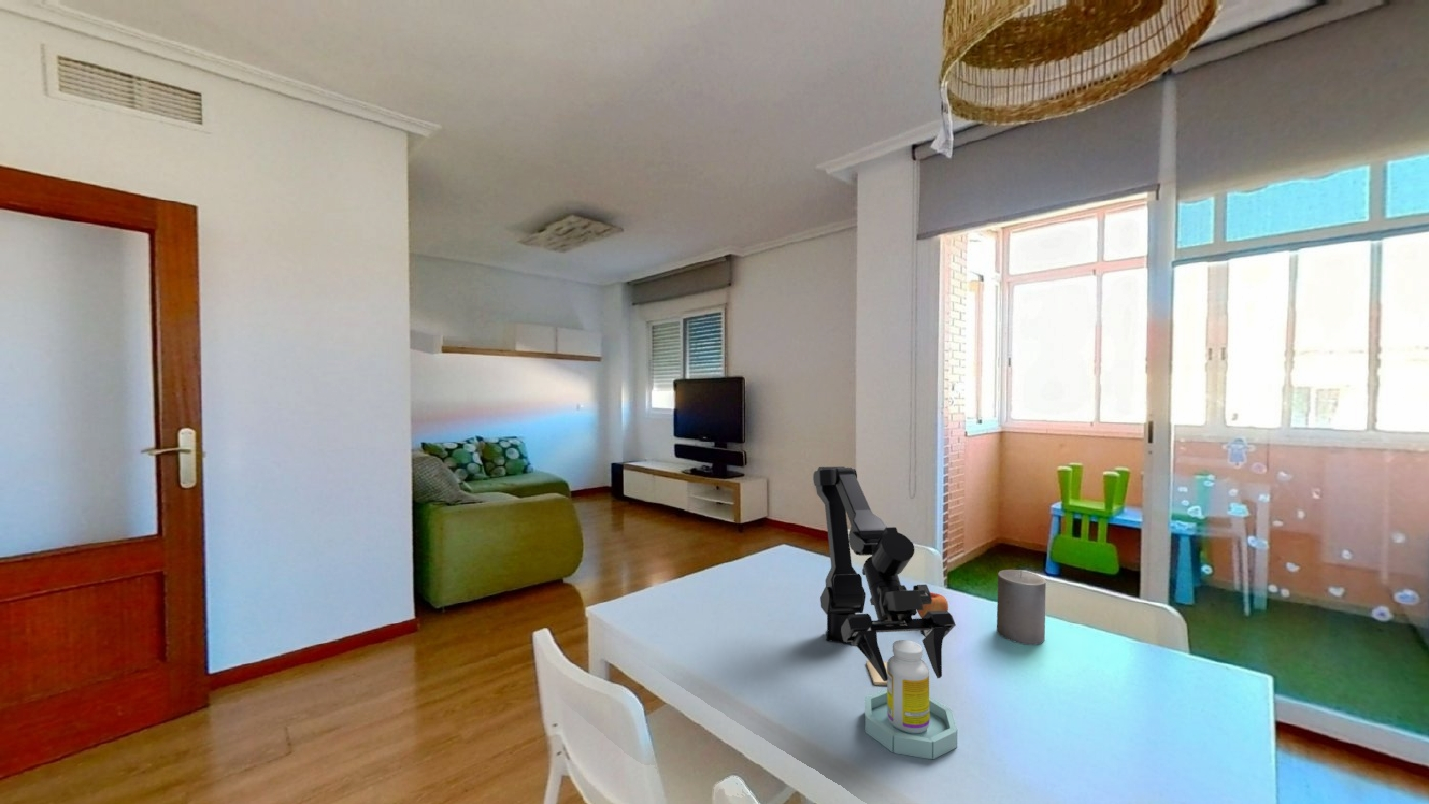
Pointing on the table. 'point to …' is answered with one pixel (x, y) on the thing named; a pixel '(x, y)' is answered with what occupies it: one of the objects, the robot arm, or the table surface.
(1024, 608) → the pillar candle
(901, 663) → the supplement bottle
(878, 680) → the cork mat
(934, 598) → the apple
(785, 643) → the table surface
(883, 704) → the bowl
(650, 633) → the table surface
